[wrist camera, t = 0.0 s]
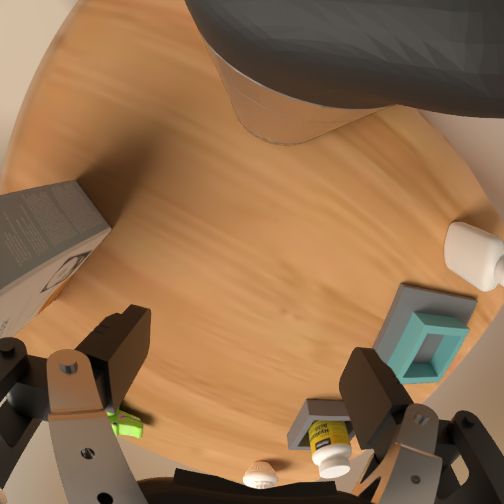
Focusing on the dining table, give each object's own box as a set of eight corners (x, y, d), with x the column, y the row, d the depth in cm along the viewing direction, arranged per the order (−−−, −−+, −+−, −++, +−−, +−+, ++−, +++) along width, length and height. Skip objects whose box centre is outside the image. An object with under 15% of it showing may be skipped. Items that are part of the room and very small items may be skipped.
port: (400, 283, 28) (417, 299, 24) (473, 298, 28) (490, 311, 24) (355, 378, 32) (364, 399, 28) (430, 378, 32) (441, 395, 29)
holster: (306, 399, 33) (309, 415, 30) (363, 401, 33) (369, 415, 31) (287, 434, 36) (288, 449, 33) (339, 435, 36) (343, 449, 33)
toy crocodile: (150, 411, 35) (139, 440, 29) (144, 430, 37) (134, 456, 31) (44, 353, 33) (25, 375, 27) (47, 377, 35) (31, 398, 29)
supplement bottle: (322, 405, 33) (334, 461, 24) (349, 412, 34) (365, 464, 25) (299, 425, 35) (306, 478, 26) (326, 432, 36) (337, 481, 26)
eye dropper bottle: (472, 231, 26) (541, 264, 14) (453, 271, 27) (515, 317, 16) (452, 214, 25) (527, 245, 14) (432, 258, 27) (499, 305, 15)
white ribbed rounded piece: (284, 461, 39) (286, 492, 32) (267, 473, 40) (267, 502, 34) (253, 454, 38) (252, 487, 31) (237, 467, 40) (235, 497, 33)
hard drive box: (54, 302, 30) (-40, 392, 11) (22, 259, 28) (-81, 327, 9) (115, 228, 26) (-36, 324, 7) (76, 176, 25) (-84, 216, 6)
